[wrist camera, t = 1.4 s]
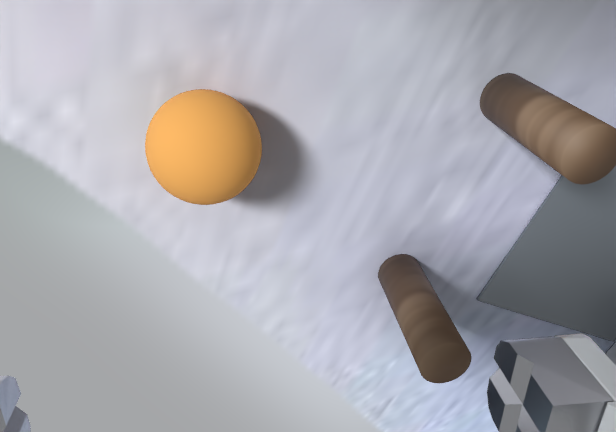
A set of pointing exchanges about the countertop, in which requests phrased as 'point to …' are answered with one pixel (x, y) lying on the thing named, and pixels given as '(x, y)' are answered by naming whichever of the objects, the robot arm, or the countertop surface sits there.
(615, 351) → the bar
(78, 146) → the countertop surface
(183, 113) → the ball
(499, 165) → the countertop surface
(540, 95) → the post
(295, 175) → the countertop surface
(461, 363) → the post
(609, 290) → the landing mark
